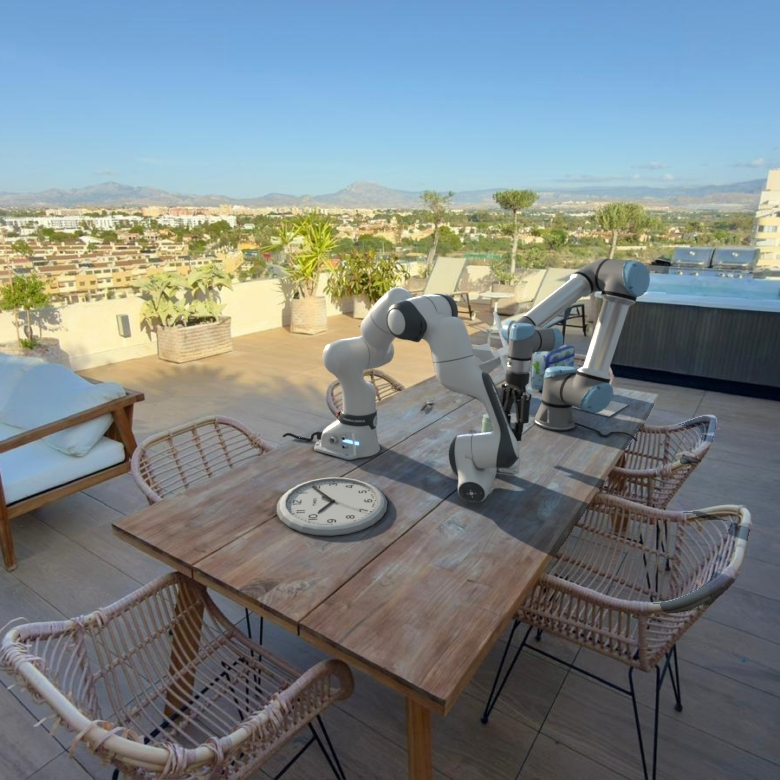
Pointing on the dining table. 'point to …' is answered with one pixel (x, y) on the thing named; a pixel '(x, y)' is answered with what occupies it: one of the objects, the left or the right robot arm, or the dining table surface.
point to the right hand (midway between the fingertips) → (510, 437)
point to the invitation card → (610, 408)
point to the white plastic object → (493, 353)
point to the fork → (427, 403)
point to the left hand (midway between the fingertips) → (489, 450)
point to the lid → (512, 426)
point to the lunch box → (550, 363)
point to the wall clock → (331, 506)
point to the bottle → (486, 424)
